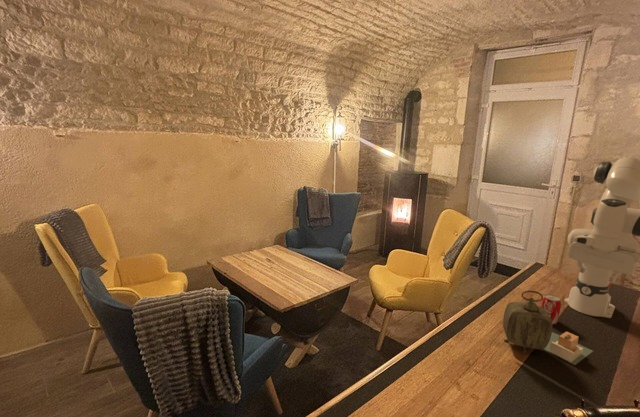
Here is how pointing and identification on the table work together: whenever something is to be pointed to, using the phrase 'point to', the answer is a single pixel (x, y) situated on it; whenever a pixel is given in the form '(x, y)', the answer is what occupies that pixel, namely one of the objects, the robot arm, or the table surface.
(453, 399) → the table surface
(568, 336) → the plug
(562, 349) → the frame
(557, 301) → the soda can
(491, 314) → the table surface
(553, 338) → the board
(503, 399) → the table surface
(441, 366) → the table surface
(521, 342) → the tabletop clock
